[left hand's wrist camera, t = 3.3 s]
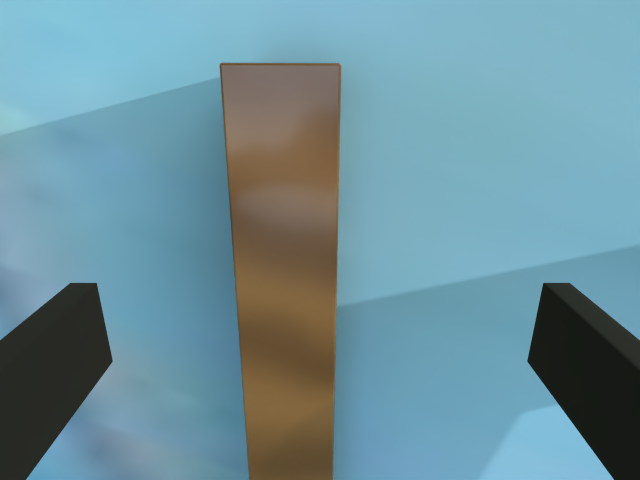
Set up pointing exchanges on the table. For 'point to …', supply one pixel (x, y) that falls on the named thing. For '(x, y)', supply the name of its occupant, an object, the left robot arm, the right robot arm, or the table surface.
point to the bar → (285, 258)
